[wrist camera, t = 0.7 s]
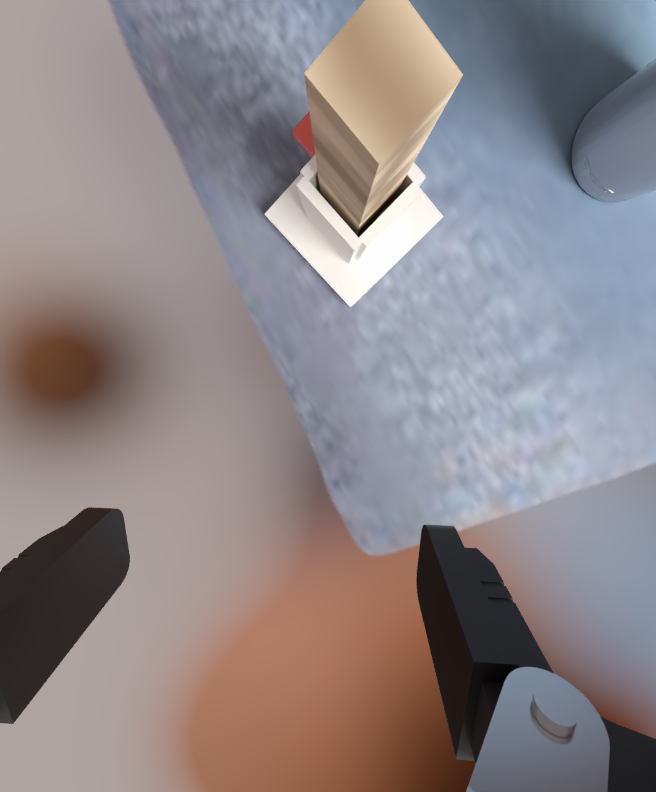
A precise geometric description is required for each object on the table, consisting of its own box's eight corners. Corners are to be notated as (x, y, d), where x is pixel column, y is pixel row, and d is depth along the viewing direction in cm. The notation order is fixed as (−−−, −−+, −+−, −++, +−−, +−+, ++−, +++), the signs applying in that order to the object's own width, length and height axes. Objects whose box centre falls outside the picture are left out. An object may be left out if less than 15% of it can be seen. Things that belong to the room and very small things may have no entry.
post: (353, 177, 33) (385, -37, 12) (385, 215, 33) (466, 75, 13) (320, 212, 33) (297, 69, 13) (352, 248, 34) (379, 168, 13)
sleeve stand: (356, 118, 33) (366, 26, 22) (439, 220, 35) (486, 182, 24) (267, 217, 35) (236, 179, 24) (349, 307, 37) (356, 310, 26)
